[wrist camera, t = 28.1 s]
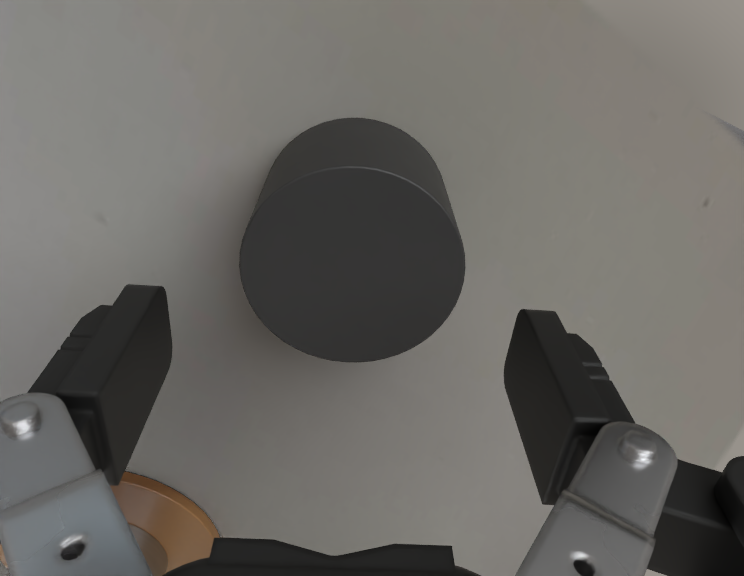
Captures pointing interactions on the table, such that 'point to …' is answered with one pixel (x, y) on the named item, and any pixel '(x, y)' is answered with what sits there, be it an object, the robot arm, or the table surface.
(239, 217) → the table surface
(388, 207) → the black cap
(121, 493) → the cork coaster
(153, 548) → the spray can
